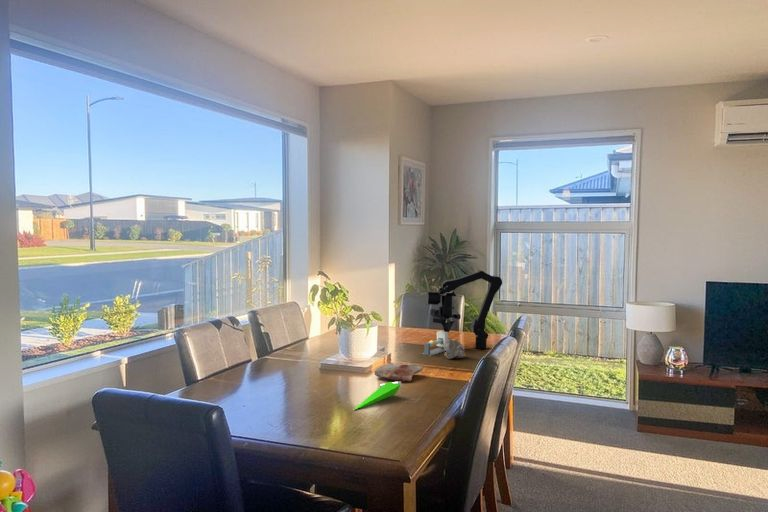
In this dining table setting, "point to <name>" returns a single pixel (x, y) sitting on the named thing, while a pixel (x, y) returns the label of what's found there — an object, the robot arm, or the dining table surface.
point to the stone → (398, 371)
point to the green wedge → (381, 393)
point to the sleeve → (442, 335)
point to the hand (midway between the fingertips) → (446, 334)
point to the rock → (453, 349)
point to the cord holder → (432, 344)
